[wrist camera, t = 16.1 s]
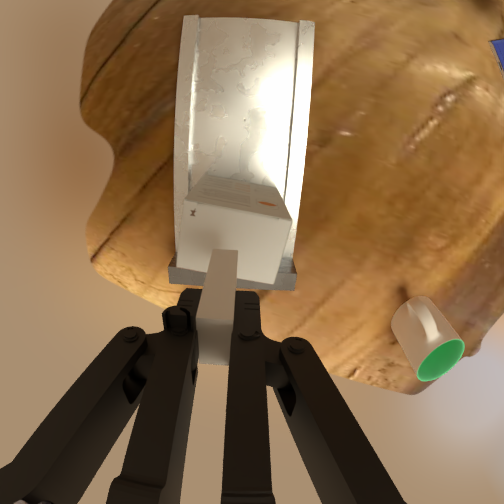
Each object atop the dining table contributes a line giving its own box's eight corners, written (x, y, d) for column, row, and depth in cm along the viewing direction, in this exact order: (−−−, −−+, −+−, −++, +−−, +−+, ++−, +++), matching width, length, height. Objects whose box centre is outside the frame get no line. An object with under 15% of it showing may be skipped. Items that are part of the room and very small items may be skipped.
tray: (188, 23, 22) (175, 3, 17) (309, 29, 23) (322, 10, 17) (181, 257, 34) (169, 283, 29) (287, 263, 35) (294, 290, 29)
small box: (195, 222, 31) (172, 268, 21) (203, 172, 29) (180, 197, 19) (267, 236, 32) (274, 287, 22) (279, 187, 29) (294, 220, 20)
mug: (375, 299, 38) (404, 349, 28) (420, 268, 36) (458, 310, 26) (398, 343, 42) (422, 388, 32) (436, 317, 40) (466, 358, 30)
